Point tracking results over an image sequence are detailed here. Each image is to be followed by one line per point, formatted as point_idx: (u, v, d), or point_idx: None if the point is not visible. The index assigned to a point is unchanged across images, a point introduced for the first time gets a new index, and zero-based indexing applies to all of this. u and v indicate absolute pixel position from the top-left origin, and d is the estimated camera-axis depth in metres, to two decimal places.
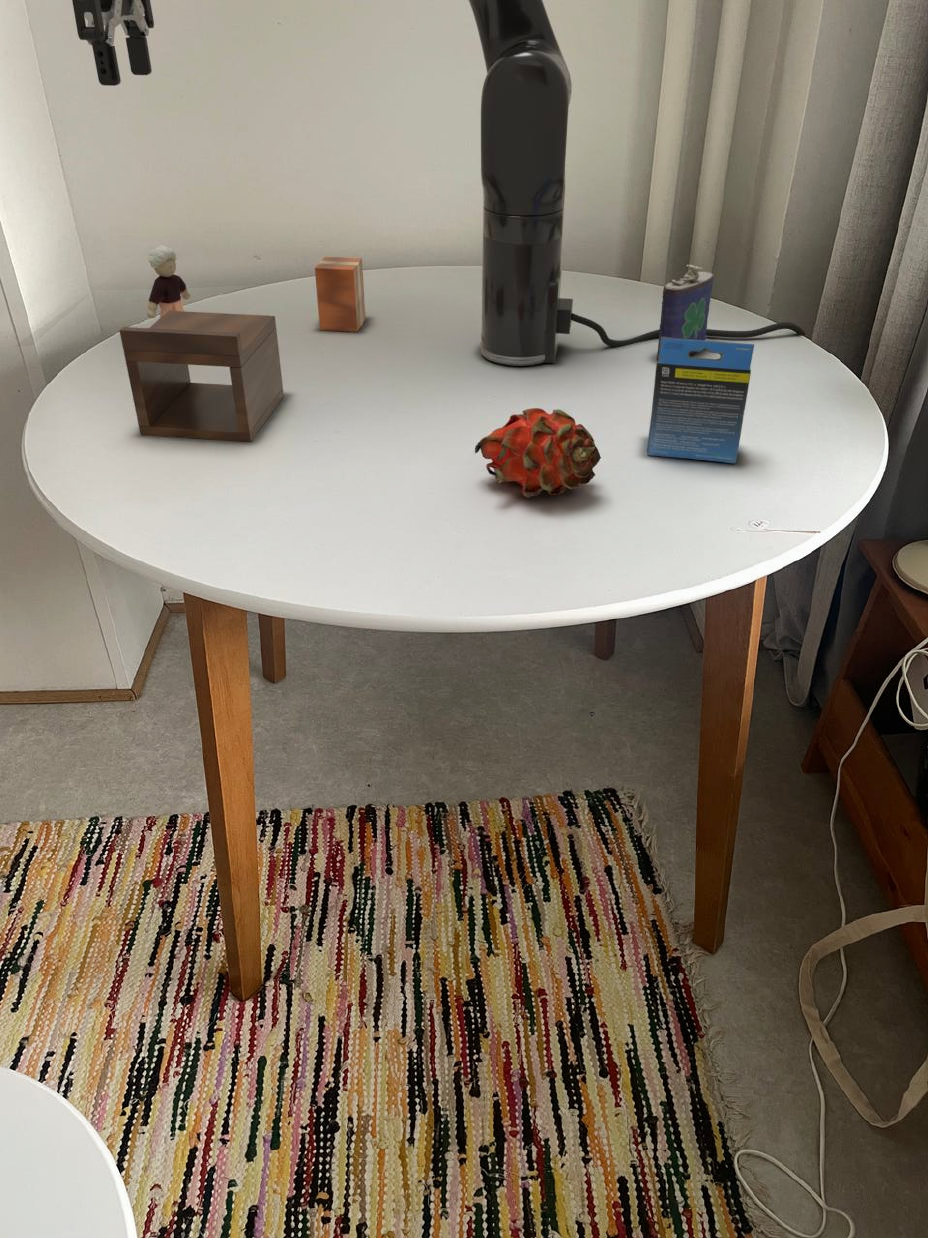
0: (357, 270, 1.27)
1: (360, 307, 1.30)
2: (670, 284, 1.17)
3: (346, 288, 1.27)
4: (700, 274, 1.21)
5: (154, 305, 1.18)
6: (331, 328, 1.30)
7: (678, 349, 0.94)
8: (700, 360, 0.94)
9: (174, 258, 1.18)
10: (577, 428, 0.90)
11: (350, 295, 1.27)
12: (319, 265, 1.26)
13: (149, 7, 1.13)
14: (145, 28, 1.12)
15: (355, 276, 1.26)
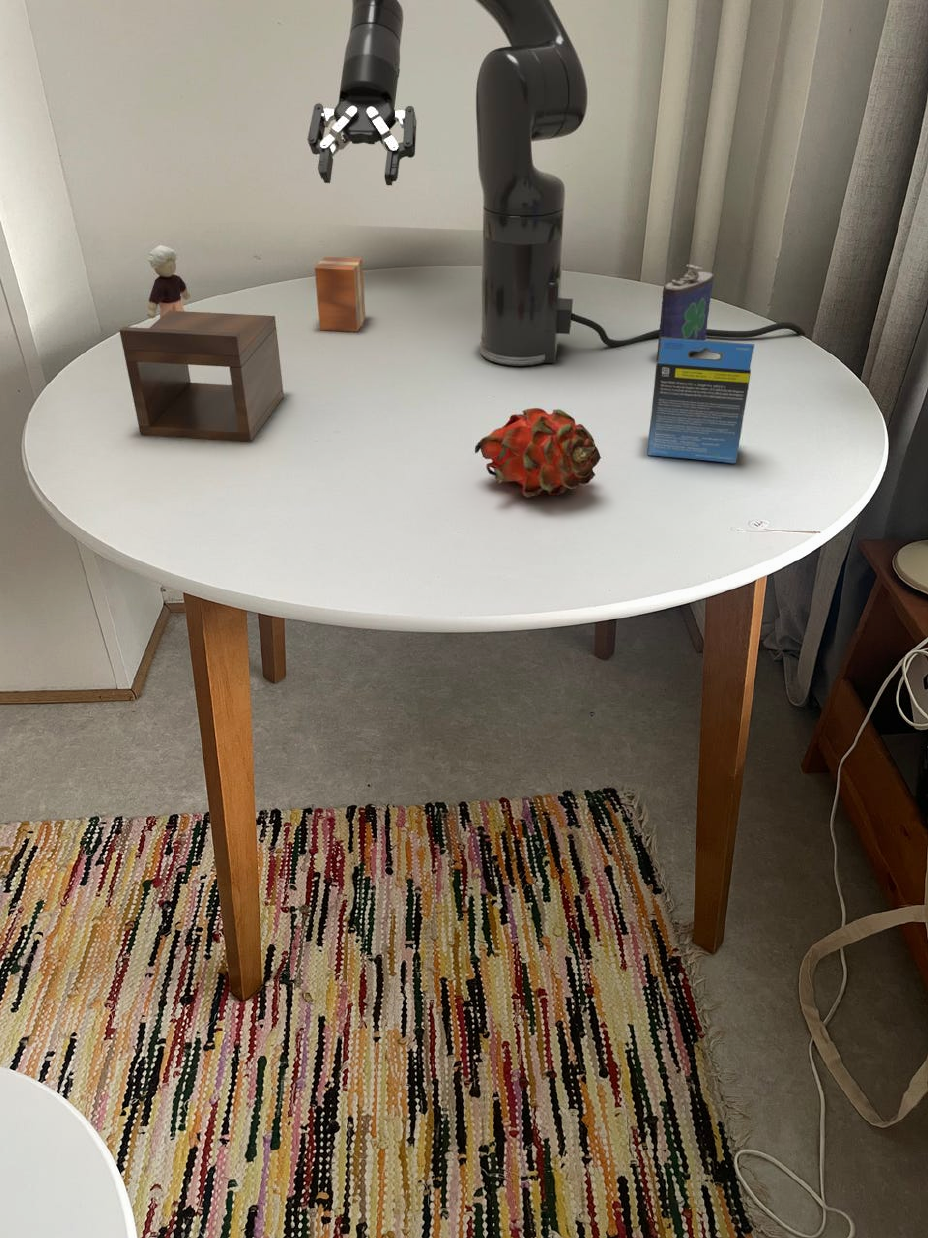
0: (357, 270, 1.27)
1: (360, 307, 1.30)
2: (670, 284, 1.17)
3: (346, 288, 1.27)
4: (700, 274, 1.21)
5: (154, 305, 1.18)
6: (331, 328, 1.30)
7: (678, 349, 0.94)
8: (700, 360, 0.94)
9: (174, 258, 1.18)
10: (577, 428, 0.90)
11: (350, 295, 1.27)
12: (319, 265, 1.26)
13: (408, 132, 1.32)
14: (391, 144, 1.32)
15: (355, 276, 1.26)
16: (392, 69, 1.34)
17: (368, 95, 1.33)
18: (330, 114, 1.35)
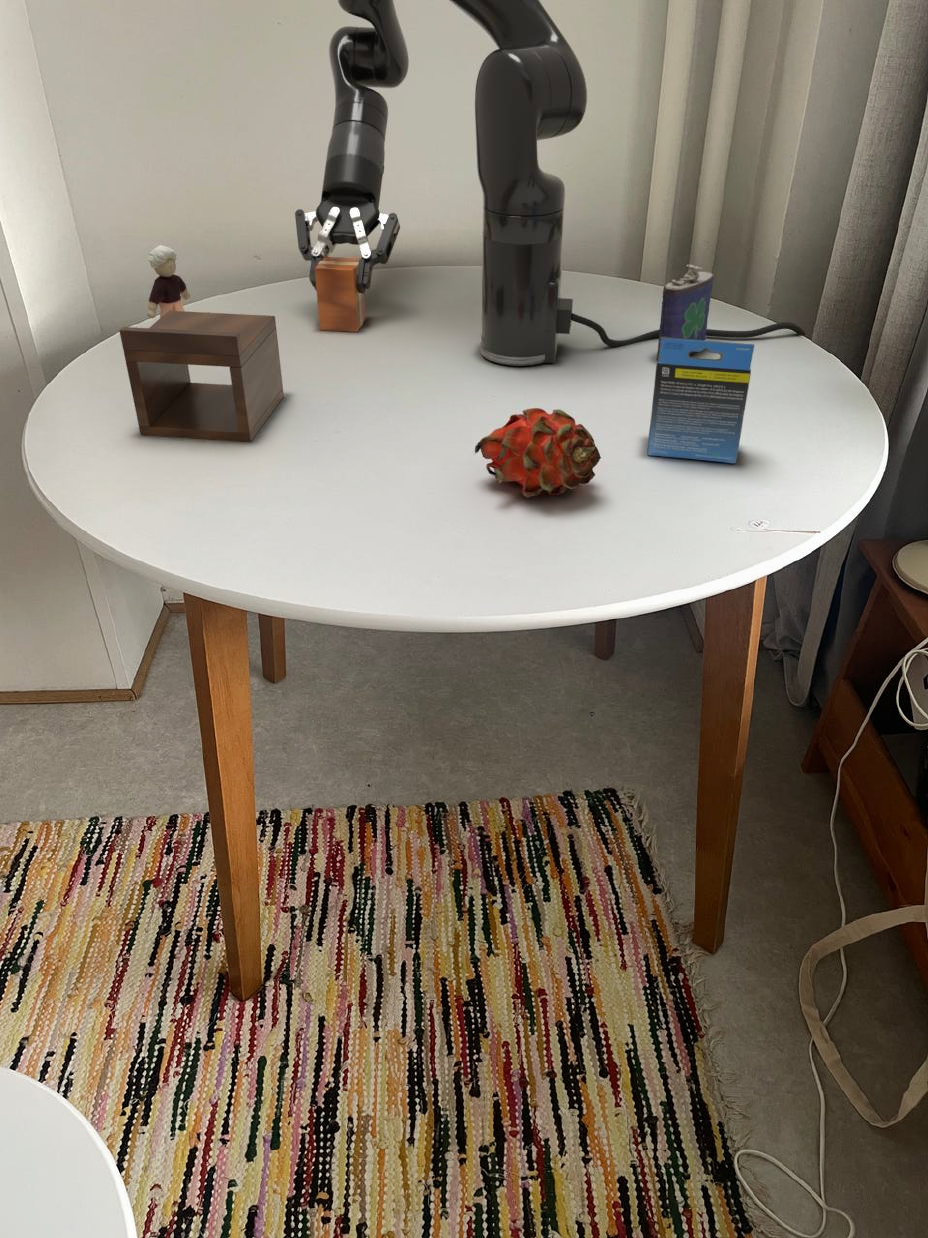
0: (357, 270, 1.27)
1: (360, 307, 1.30)
2: (670, 284, 1.17)
3: (346, 288, 1.27)
4: (700, 274, 1.21)
5: (154, 305, 1.18)
6: (331, 328, 1.30)
7: (678, 349, 0.94)
8: (700, 360, 0.94)
9: (174, 258, 1.18)
10: (577, 428, 0.90)
11: (350, 295, 1.27)
12: (319, 265, 1.26)
13: (384, 240, 1.28)
14: (363, 252, 1.28)
15: (355, 276, 1.26)
16: (376, 167, 1.29)
17: (351, 195, 1.29)
18: (313, 217, 1.30)
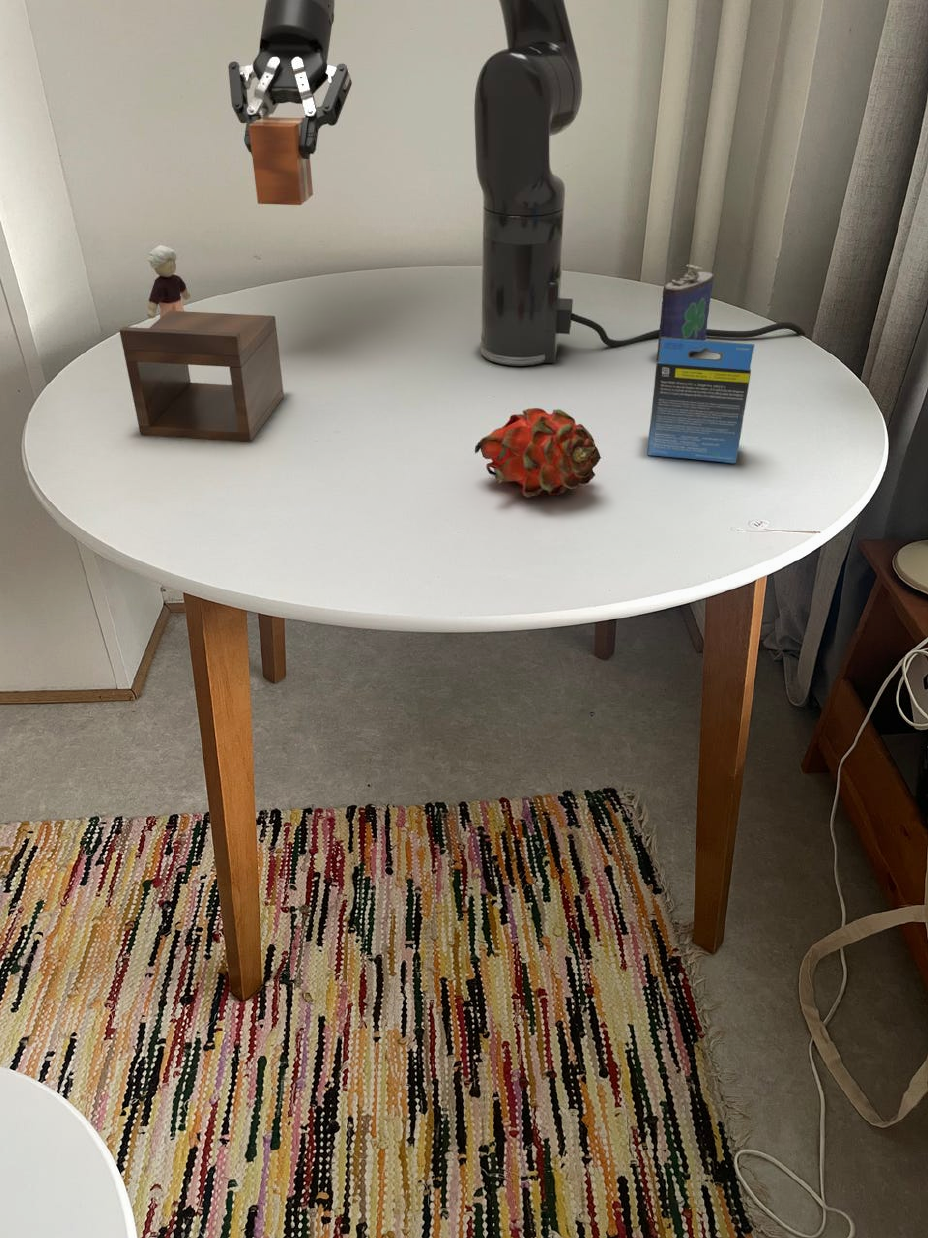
0: (299, 129, 1.08)
1: (305, 177, 1.11)
2: (670, 284, 1.17)
3: (286, 150, 1.08)
4: (700, 274, 1.21)
5: (154, 305, 1.18)
6: (271, 201, 1.11)
7: (678, 349, 0.94)
8: (700, 360, 0.94)
9: (174, 258, 1.18)
10: (577, 428, 0.90)
11: (291, 159, 1.08)
12: (254, 123, 1.07)
13: (331, 94, 1.09)
14: (307, 109, 1.09)
15: (296, 136, 1.07)
16: (323, 12, 1.10)
17: (293, 43, 1.10)
18: (249, 71, 1.11)
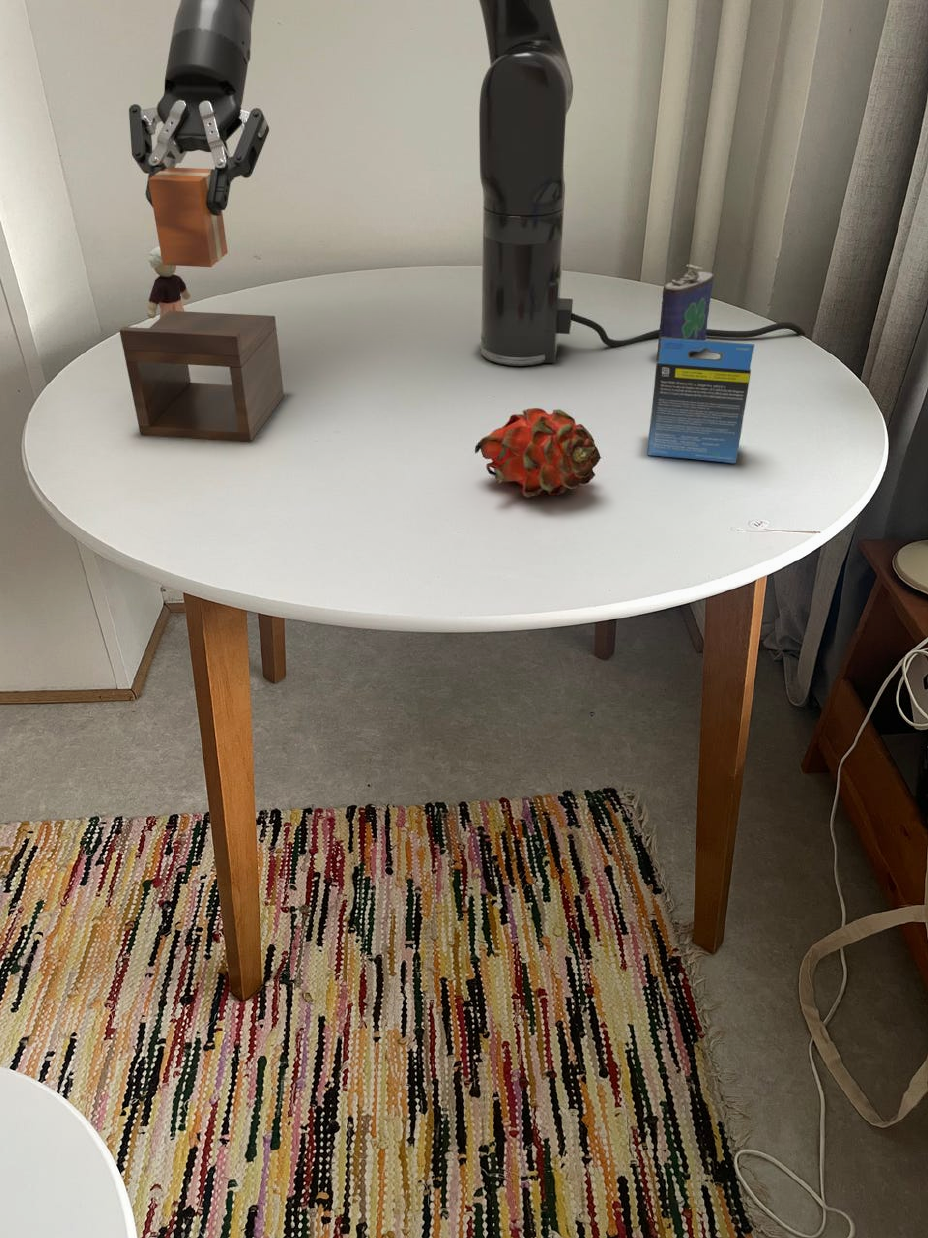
0: (207, 183, 0.95)
1: (216, 235, 0.98)
2: (670, 284, 1.17)
3: (192, 207, 0.95)
4: (700, 274, 1.21)
5: (154, 305, 1.18)
6: (177, 262, 0.98)
7: (678, 349, 0.94)
8: (700, 360, 0.94)
9: None
10: (577, 428, 0.90)
11: (198, 216, 0.95)
12: (155, 176, 0.95)
13: (244, 144, 0.96)
14: (217, 160, 0.96)
15: (203, 191, 0.95)
16: (236, 49, 0.97)
17: (202, 85, 0.97)
18: (153, 115, 0.98)
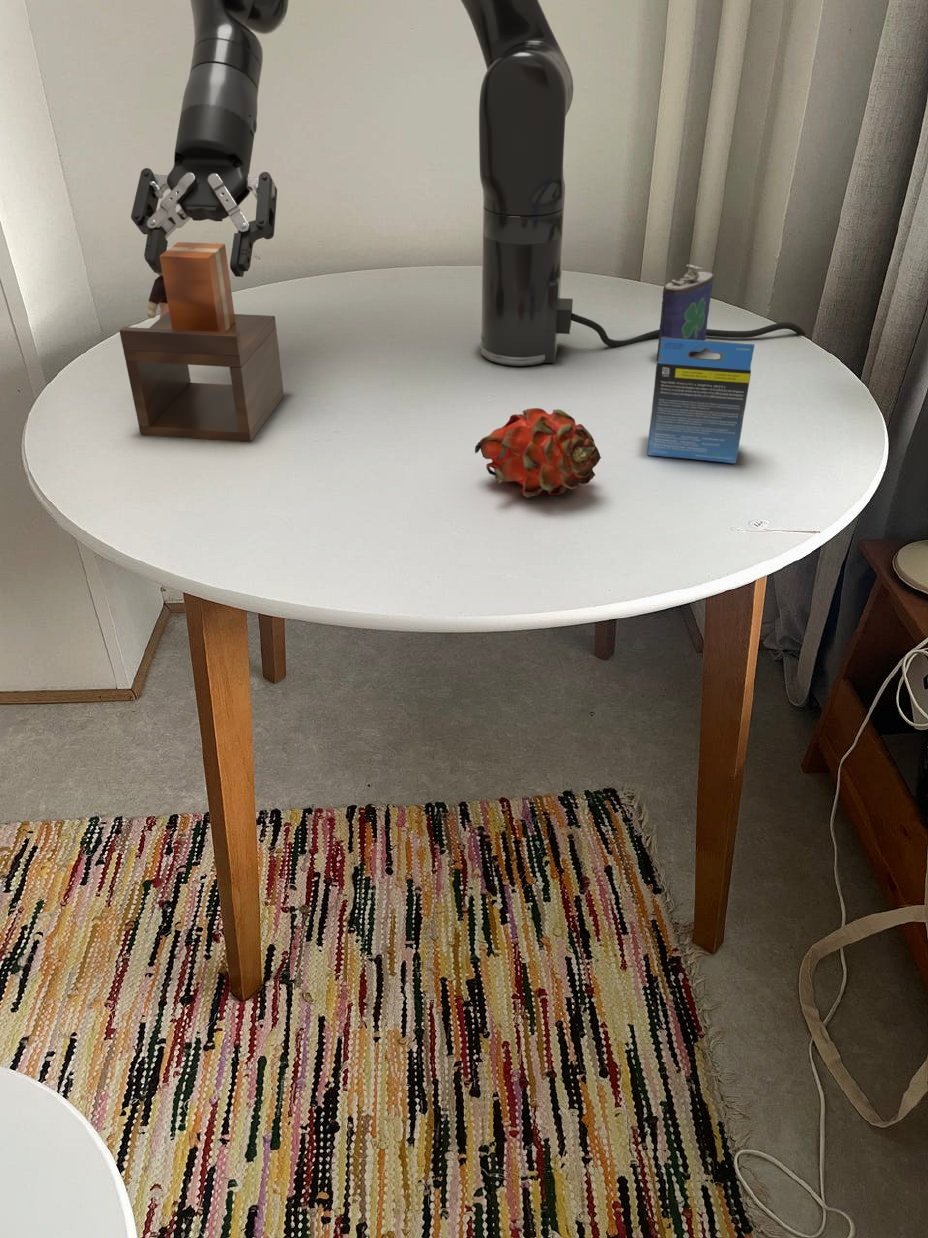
0: (216, 259, 0.99)
1: (224, 306, 1.02)
2: (670, 284, 1.17)
3: (201, 282, 0.99)
4: (700, 274, 1.21)
5: (154, 305, 1.18)
6: None
7: (678, 349, 0.94)
8: (700, 360, 0.94)
9: None
10: (577, 428, 0.90)
11: (207, 291, 0.99)
12: (166, 252, 0.99)
13: (263, 207, 0.99)
14: (240, 224, 0.99)
15: (212, 266, 0.99)
16: (243, 122, 1.01)
17: (210, 157, 1.01)
18: (163, 182, 1.02)
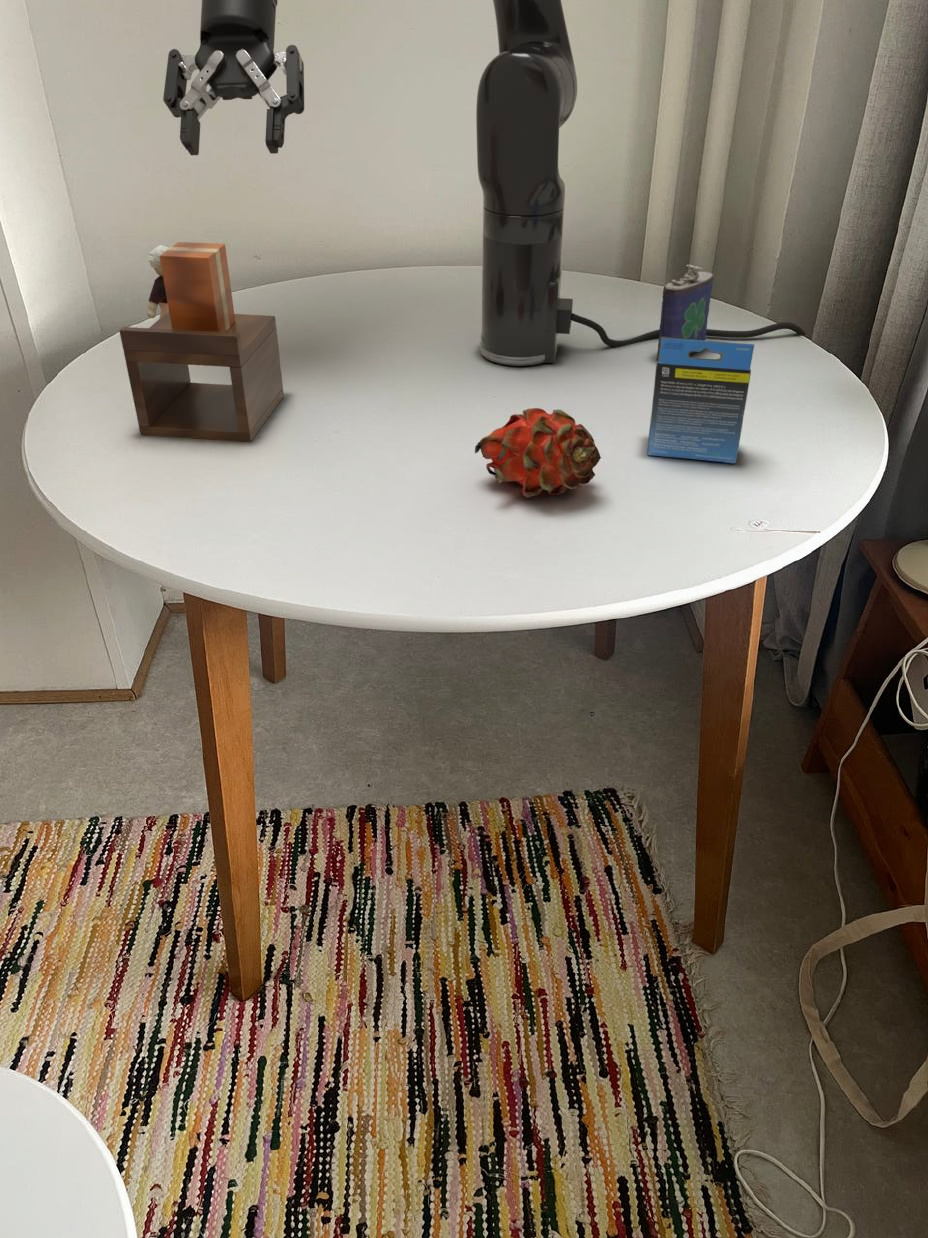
0: (216, 259, 0.99)
1: (224, 306, 1.02)
2: (670, 284, 1.17)
3: (201, 282, 0.99)
4: (700, 274, 1.21)
5: (154, 305, 1.18)
6: None
7: (678, 349, 0.94)
8: (700, 360, 0.94)
9: None
10: (577, 428, 0.90)
11: (207, 291, 0.99)
12: (166, 252, 0.99)
13: (292, 81, 1.01)
14: (272, 99, 1.01)
15: (212, 266, 0.99)
16: None
17: (236, 34, 1.02)
18: (191, 62, 1.04)
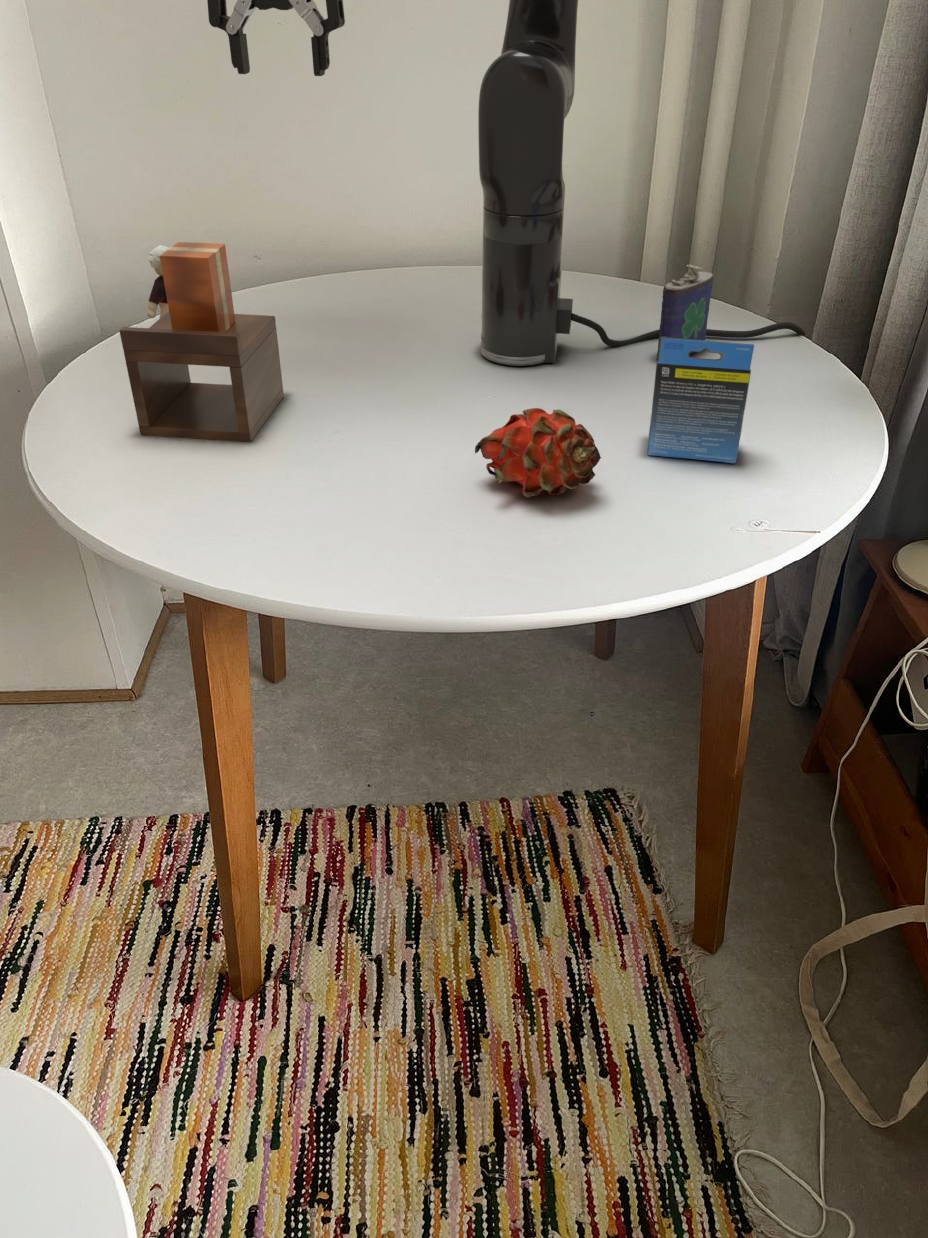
0: (216, 259, 0.99)
1: (224, 306, 1.02)
2: (670, 284, 1.17)
3: (201, 282, 0.99)
4: (700, 274, 1.21)
5: (154, 305, 1.18)
6: None
7: (678, 349, 0.94)
8: (700, 360, 0.94)
9: None
10: (577, 428, 0.90)
11: (207, 291, 0.99)
12: (166, 252, 0.99)
13: (332, 6, 1.04)
14: (314, 27, 1.05)
15: (212, 266, 0.99)
16: None
17: None
18: None
